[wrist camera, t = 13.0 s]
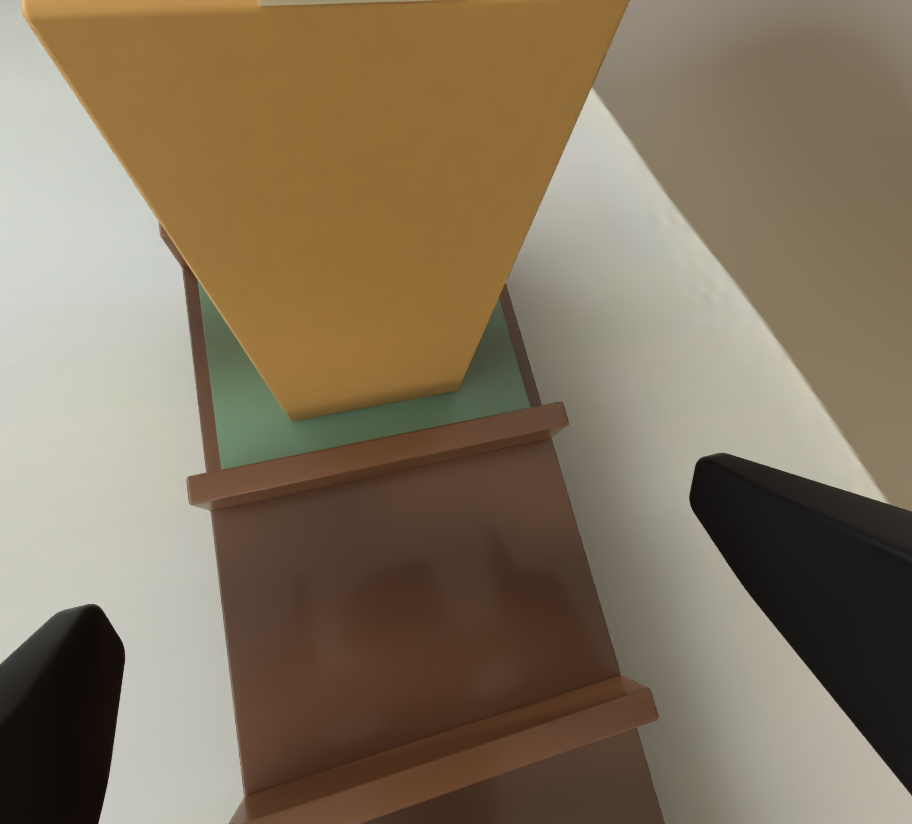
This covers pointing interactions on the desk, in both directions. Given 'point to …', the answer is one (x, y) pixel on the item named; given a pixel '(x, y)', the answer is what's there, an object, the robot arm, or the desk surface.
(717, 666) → the desk surface
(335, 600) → the rack
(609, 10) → the package
